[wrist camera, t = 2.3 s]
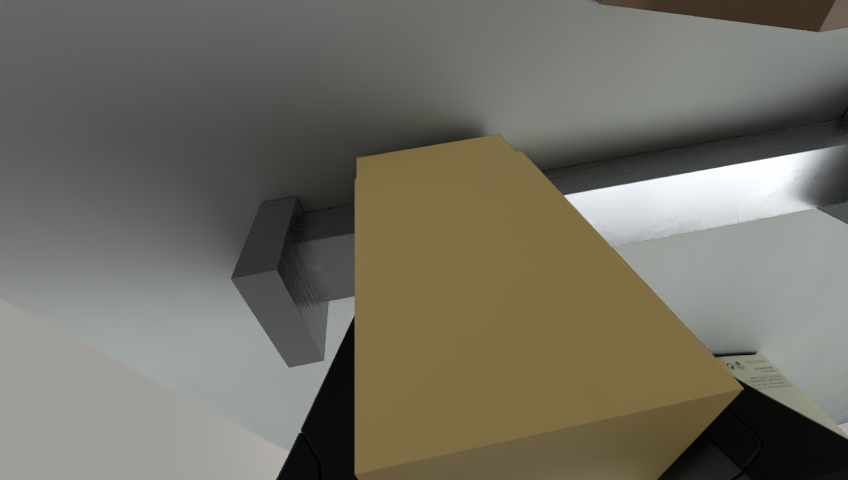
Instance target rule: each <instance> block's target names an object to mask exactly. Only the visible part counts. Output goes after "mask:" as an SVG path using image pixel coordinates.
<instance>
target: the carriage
mask: <svg viewBox="0 0 848 480" xmlns="http://www.w3.org/2000/svg"><path fill="white" fill-rule="evenodd" d="M356 161H357V179H355V476H356V477H357V479H358V480H657V479H658V478H659V477H660V476H661V475H662V474H663V473H664V472H665V471H666V470H667V469H668V468H669V467H670V466H671V464H672V463H673V462H674V461H675V460H676V459H677V458H678V457H679V456H680V455H681V454H682V453H683V452H684V451H685V450H686V449H687V448H688V447H689V446H690V445H691V444H692V442H693V441H694V440H695V439H696V438H697V437H698V436H699V435H700V434H701V433H702V432H703V431H704V430H705V429H706V428H707V427H708V426H709V425H710V424H711V423H712V421H713V420H714V419H715V418H716V417H717V416H718V415H719V414H720V413H721V412H722V411H723V410H724V409H725V408H726V407H727V406H728V405H729V404H730V403H731V402H732V401H733V399H734V398H735V397H736V396H737V395H738V394H739V393H740V392H741V391H742V390H743V389H744V388H743V387H742V386H741V385H740V383H739V382H738V381H737V380H736V379H735V378H734V377H733V376H732V375H731V374H730V373H729V372H728V371H727V370H726V368H725V367H724V366H723V365H722V364H721V363H720V362H719V361H718V360H717V359H716V358H715V357H714V356H713V355H712V354H711V352H710V351H709V350H708V349H707V348H706V347H705V346H704V345H703V344H702V343H701V342H700V341H699V340H698V339H697V338H696V336H695V335H694V334H693V333H692V332H691V331H690V330H689V329H688V328H687V327H686V326H685V325H684V324H683V323H682V321H681V320H680V319H679V318H678V317H677V316H676V315H675V314H674V313H673V312H672V311H671V310H670V309H669V308H668V307H667V305H666V304H665V303H664V302H663V301H662V300H661V299H660V298H659V297H658V296H657V295H656V294H655V293H654V292H653V290H652V289H651V288H650V287H649V286H648V285H647V284H646V283H645V282H644V281H643V280H642V279H641V278H640V277H639V276H638V274H637V273H636V272H635V271H634V270H633V269H632V268H631V267H630V266H629V265H628V264H627V263H626V262H625V261H624V260H623V258H622V257H621V256H620V255H619V254H618V253H617V252H616V251H615V250H614V249H613V248H612V247H611V246H610V245H609V243H608V242H607V241H606V240H605V239H604V238H603V237H602V236H601V235H600V234H599V233H598V232H597V231H596V230H595V229H594V227H593V226H592V225H591V224H590V223H589V222H588V221H587V220H586V219H585V218H584V217H583V216H582V215H581V214H580V212H579V211H578V210H577V209H576V208H575V207H574V206H573V205H572V204H571V203H570V202H569V201H568V200H567V199H566V198H565V196H564V195H563V194H562V193H561V192H560V191H559V190H558V189H557V188H556V187H555V186H554V185H553V184H552V183H551V182H550V180H549V179H548V178H547V177H546V176H545V175H544V174H543V173H542V172H541V171H540V170H539V169H538V168H537V167H536V165H535V164H534V163H533V162H532V161H531V160H530V159H529V158H528V157H527V156H526V155H525V154H524V153H523V152H522V151H516V152H515V151H514V150H513V149H512V148H511V147H510V146H509V144H508V143H507V142H506V141H505V140H504V139H503V138H502V137H501V135H500V134H496V135H490V136H484V137H478V138H472V139H466V140H460V141H454V142H448V143H442V144H436V145H430V146H424V147H418V148H413V149H407V150H401V151H395V152H389V153H383V154H377V155H371V156H365V157H359V158H356Z"/></svg>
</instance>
